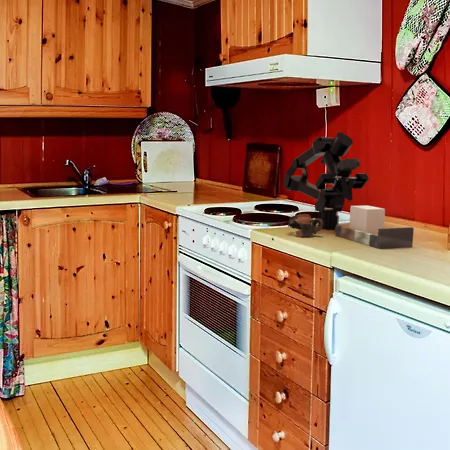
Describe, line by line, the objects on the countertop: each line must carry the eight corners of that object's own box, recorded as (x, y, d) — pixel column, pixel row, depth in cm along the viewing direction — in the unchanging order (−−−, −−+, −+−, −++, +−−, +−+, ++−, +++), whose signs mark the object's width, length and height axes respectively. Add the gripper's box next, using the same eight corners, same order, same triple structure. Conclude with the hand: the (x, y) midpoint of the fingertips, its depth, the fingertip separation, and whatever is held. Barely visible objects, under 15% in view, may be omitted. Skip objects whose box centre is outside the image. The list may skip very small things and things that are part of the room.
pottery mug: (287, 238, 206) (284, 215, 209) (293, 246, 214) (289, 224, 217) (323, 231, 203) (320, 208, 206) (328, 240, 211) (324, 217, 214)
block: (349, 229, 208) (350, 205, 207) (366, 229, 211) (368, 205, 210) (365, 234, 200) (367, 209, 199) (383, 233, 203) (385, 208, 202)
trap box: (335, 235, 211) (336, 217, 210) (365, 234, 216) (366, 216, 215) (379, 248, 189) (380, 229, 189) (412, 246, 194) (413, 227, 193)
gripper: (321, 149, 211) (338, 185, 203) (367, 150, 219) (385, 184, 211) (308, 171, 220) (323, 206, 212) (353, 171, 227) (369, 205, 219)
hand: (351, 200), depth 213 cm, fingers closed
